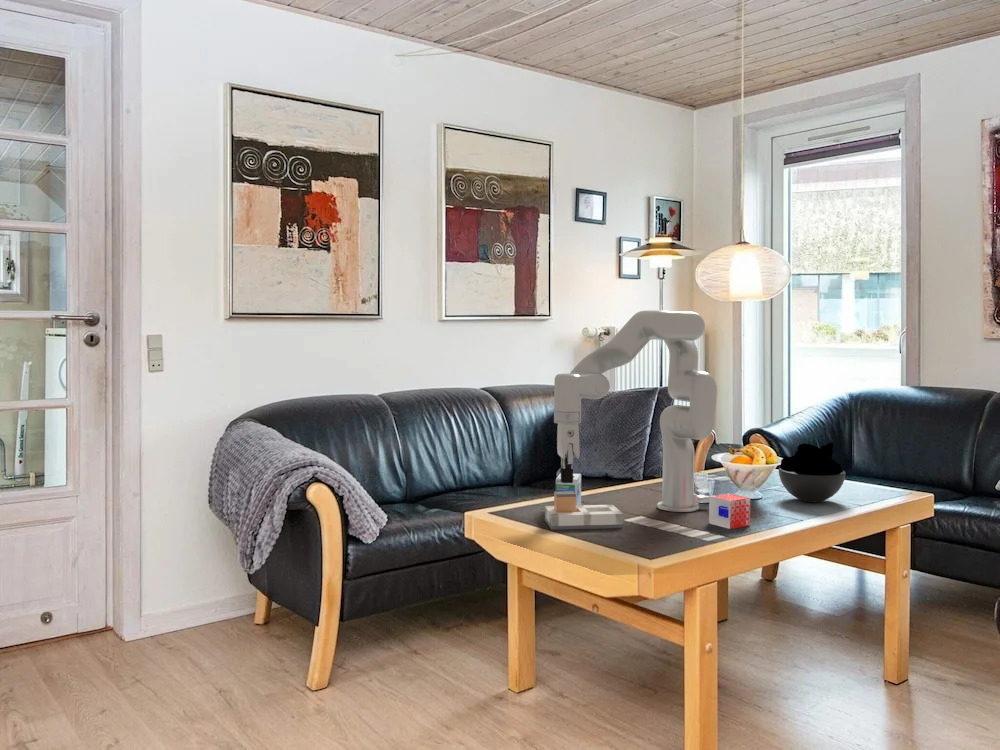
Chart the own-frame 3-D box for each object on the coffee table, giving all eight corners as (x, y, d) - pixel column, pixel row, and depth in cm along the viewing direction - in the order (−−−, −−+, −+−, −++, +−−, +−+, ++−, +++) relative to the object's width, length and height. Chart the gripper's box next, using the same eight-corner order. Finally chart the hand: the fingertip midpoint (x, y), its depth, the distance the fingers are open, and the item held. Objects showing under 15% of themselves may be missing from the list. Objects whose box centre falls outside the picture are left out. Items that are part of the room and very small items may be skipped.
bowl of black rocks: (781, 506, 270) (782, 446, 268) (775, 494, 289) (776, 437, 288) (849, 509, 265) (851, 448, 264) (839, 496, 285) (840, 439, 283)
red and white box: (749, 525, 245) (750, 497, 245) (729, 529, 241) (730, 500, 240) (728, 520, 252) (728, 493, 251) (708, 523, 248) (709, 496, 247)
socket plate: (612, 518, 254) (612, 504, 254) (622, 527, 242) (622, 513, 242) (544, 519, 252) (544, 506, 252) (551, 529, 240) (551, 515, 240)
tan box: (573, 518, 249) (573, 491, 248) (575, 522, 245) (575, 493, 244) (554, 519, 248) (554, 491, 248) (556, 522, 244) (556, 494, 244)
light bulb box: (577, 515, 258) (577, 479, 257) (555, 514, 259) (555, 478, 259) (581, 507, 269) (581, 473, 268) (559, 506, 270) (559, 472, 269)
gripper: (586, 420, 238) (585, 487, 239) (575, 414, 253) (574, 477, 254) (558, 420, 237) (558, 487, 238) (550, 414, 252) (549, 477, 253)
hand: (566, 482), depth 246 cm, fingers closed
